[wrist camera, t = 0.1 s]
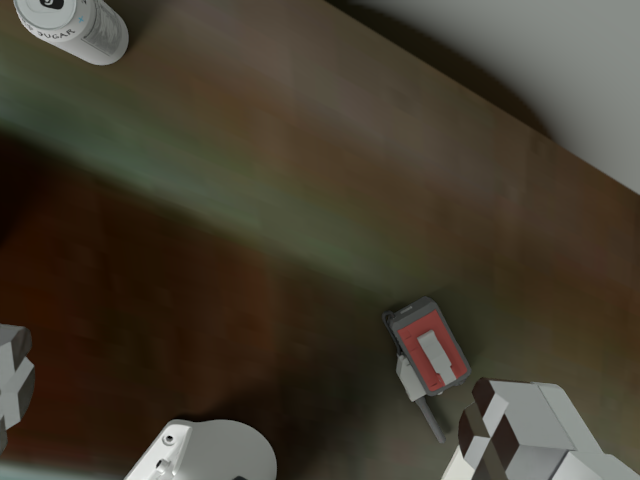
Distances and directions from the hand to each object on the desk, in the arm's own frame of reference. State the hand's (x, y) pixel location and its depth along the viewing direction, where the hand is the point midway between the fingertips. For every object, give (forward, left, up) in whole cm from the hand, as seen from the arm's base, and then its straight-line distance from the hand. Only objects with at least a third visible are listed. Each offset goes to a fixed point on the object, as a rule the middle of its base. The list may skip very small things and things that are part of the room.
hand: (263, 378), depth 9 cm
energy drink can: (-3, +23, -52) cm, 57 cm away
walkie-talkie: (0, -32, -53) cm, 62 cm away
